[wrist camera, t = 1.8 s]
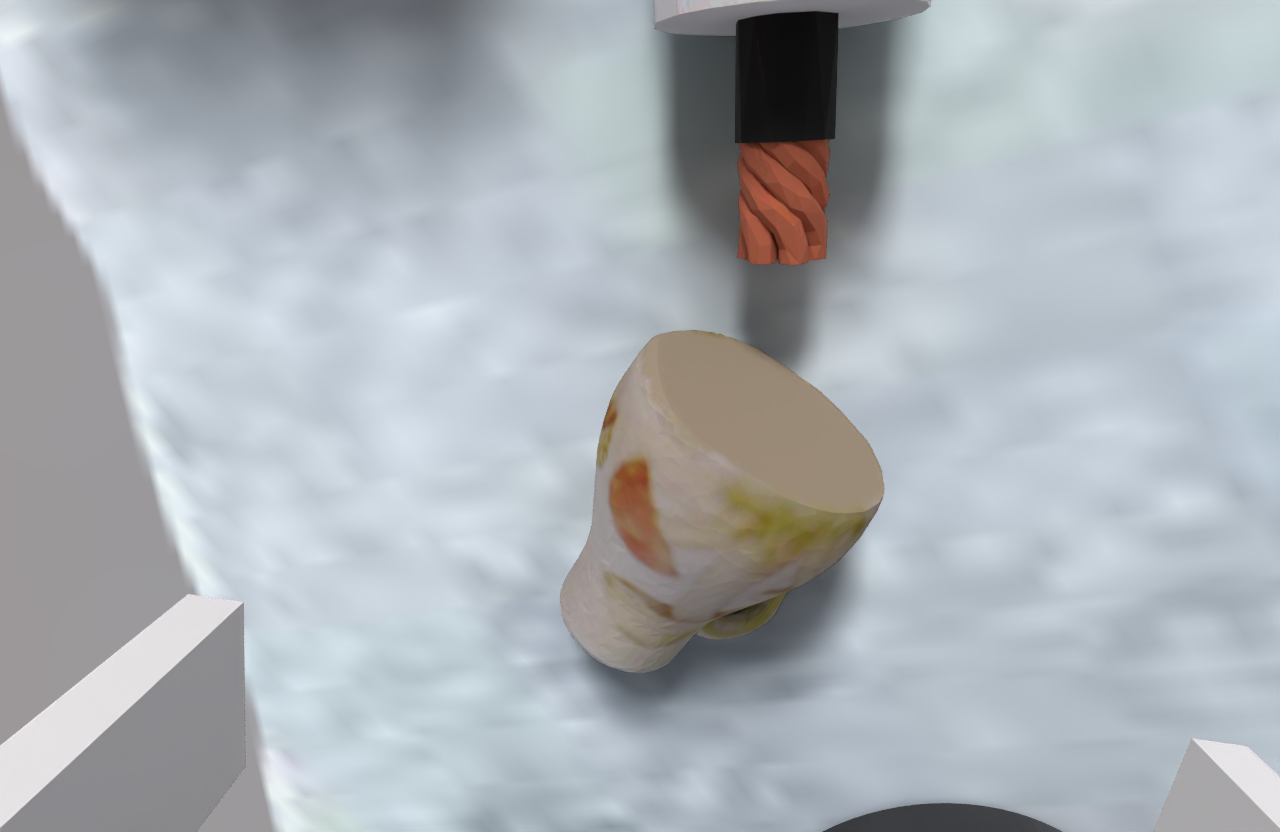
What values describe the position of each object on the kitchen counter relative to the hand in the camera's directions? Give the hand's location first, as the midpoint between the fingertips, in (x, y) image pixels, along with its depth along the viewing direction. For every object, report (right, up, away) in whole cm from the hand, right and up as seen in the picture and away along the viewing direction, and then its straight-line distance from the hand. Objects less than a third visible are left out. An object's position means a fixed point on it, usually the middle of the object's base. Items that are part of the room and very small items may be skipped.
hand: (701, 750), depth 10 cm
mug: (+1, +2, +13) cm, 13 cm away
